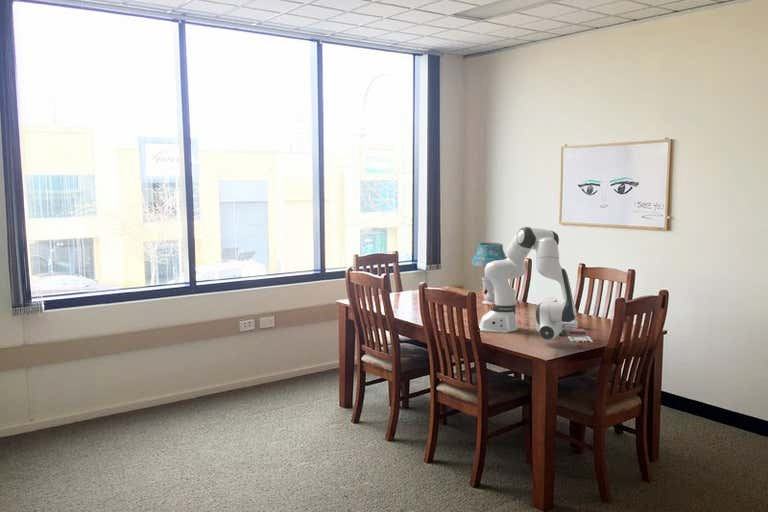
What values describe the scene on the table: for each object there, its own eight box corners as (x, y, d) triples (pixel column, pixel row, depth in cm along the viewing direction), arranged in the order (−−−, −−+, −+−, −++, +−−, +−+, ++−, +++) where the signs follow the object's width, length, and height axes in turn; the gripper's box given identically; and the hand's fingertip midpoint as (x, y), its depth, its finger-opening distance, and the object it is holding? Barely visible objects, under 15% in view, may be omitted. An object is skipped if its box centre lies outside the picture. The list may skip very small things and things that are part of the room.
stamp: (559, 336, 338) (560, 314, 337) (558, 334, 342) (558, 312, 341) (568, 336, 338) (568, 314, 336) (566, 334, 342) (567, 312, 340)
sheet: (571, 341, 327) (571, 340, 327) (567, 336, 337) (567, 335, 337) (592, 341, 326) (592, 341, 326) (588, 336, 336) (588, 336, 336)
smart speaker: (537, 320, 374) (538, 297, 372) (549, 318, 378) (550, 295, 376) (548, 323, 366) (549, 299, 364) (561, 321, 370) (561, 298, 368)
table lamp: (466, 300, 433) (467, 242, 427) (500, 299, 437) (501, 241, 432) (478, 308, 409) (479, 246, 404) (513, 306, 414) (514, 245, 408)
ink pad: (569, 334, 342) (569, 331, 342) (566, 330, 349) (566, 328, 349) (586, 334, 341) (586, 331, 341) (583, 331, 348) (583, 328, 348)
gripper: (575, 321, 310) (580, 316, 323) (533, 318, 320) (540, 313, 332) (575, 334, 311) (580, 328, 323) (533, 330, 320) (540, 324, 333)
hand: (559, 320), depth 328 cm, fingers open, 8 cm apart
